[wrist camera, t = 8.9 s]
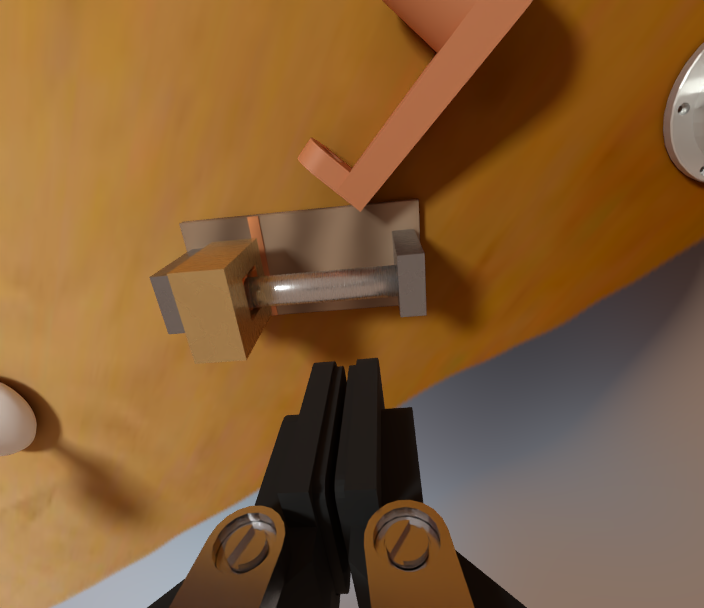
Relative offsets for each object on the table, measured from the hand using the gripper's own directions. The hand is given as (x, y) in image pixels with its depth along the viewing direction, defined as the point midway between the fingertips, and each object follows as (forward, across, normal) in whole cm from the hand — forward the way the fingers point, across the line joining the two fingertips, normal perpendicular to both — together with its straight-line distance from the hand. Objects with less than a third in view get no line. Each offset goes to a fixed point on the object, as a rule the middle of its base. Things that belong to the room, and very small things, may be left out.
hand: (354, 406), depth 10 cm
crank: (+28, -3, -10) cm, 30 cm away
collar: (+24, +12, +4) cm, 27 cm away
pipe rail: (+28, +7, +4) cm, 29 cm away
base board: (+28, +7, +4) cm, 29 cm away
